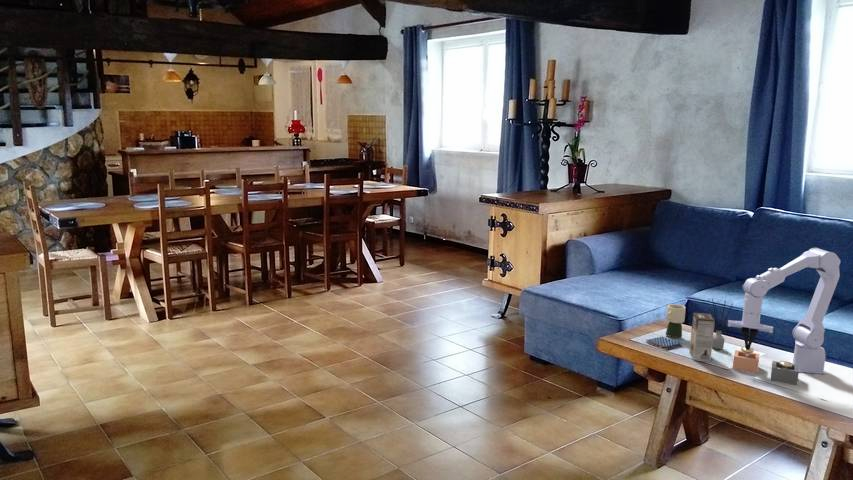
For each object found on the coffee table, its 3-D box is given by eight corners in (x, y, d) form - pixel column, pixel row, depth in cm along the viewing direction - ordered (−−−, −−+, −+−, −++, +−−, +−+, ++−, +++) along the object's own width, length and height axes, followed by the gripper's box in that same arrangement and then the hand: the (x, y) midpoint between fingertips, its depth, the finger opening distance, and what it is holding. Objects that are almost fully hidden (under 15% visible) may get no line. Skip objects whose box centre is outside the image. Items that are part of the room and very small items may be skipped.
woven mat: (661, 340, 272) (661, 335, 272) (683, 347, 264) (683, 342, 263) (643, 344, 267) (644, 339, 267) (665, 351, 258) (666, 346, 258)
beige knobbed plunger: (791, 377, 232) (793, 362, 231) (791, 381, 228) (793, 366, 227) (776, 374, 234) (777, 359, 233) (775, 378, 230) (777, 363, 229)
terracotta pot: (757, 366, 243) (759, 354, 243) (757, 373, 236) (758, 360, 236) (733, 362, 247) (735, 350, 246) (732, 368, 240) (734, 356, 239)
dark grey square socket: (796, 378, 233) (798, 365, 232) (797, 385, 226) (798, 372, 225) (770, 373, 237) (772, 360, 236) (770, 380, 230) (772, 367, 229)
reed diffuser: (731, 350, 260) (736, 301, 257) (721, 354, 256) (727, 303, 253) (706, 343, 268) (711, 295, 265) (697, 346, 264) (702, 297, 261)
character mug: (674, 332, 282) (676, 302, 280) (689, 337, 276) (692, 306, 274) (658, 336, 276) (661, 305, 273) (673, 341, 270) (676, 310, 268)
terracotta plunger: (753, 362, 242) (755, 347, 241) (752, 366, 238) (754, 351, 237) (738, 359, 245) (740, 345, 244) (738, 363, 240) (739, 349, 239)
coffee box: (688, 352, 257) (692, 312, 254) (706, 354, 256) (710, 313, 253) (692, 360, 248) (697, 318, 245) (711, 362, 247) (715, 320, 244)
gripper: (774, 312, 238) (770, 349, 241) (730, 306, 245) (726, 341, 247) (774, 317, 232) (769, 354, 234) (729, 310, 239) (725, 347, 241)
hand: (747, 348), depth 240 cm, fingers closed, pressing on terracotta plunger
